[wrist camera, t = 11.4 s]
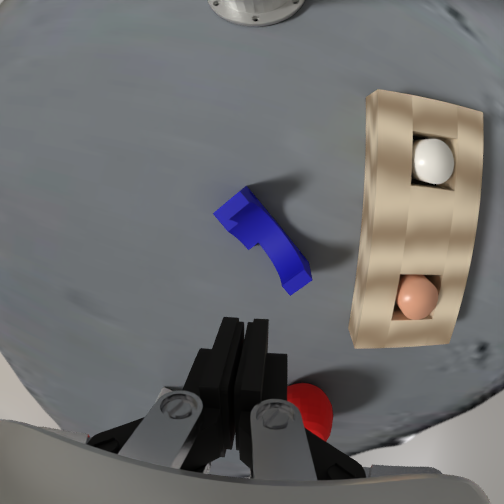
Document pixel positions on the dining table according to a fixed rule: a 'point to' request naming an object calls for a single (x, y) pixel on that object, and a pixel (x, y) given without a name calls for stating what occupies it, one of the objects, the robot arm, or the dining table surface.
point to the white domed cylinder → (431, 161)
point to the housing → (414, 219)
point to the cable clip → (265, 237)
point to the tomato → (312, 408)
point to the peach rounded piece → (416, 296)
